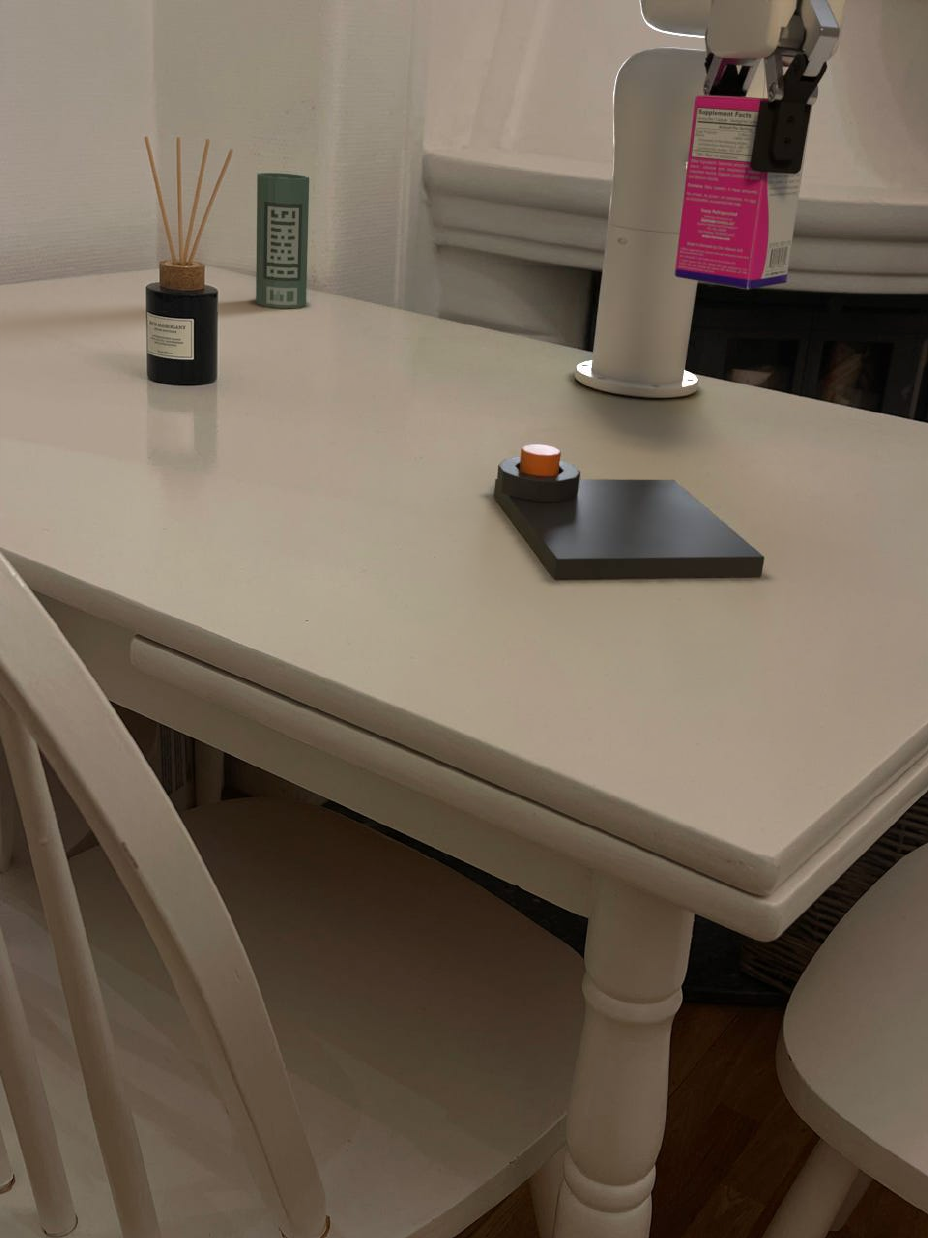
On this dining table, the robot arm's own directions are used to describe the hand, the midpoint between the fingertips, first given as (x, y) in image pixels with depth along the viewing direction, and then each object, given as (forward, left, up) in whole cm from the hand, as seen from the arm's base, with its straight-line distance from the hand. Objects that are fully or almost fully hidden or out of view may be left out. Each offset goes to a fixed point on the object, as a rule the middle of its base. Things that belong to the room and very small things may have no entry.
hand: (745, 164), depth 82 cm
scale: (+3, -7, -24) cm, 25 cm away
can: (-79, -23, -24) cm, 85 cm away
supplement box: (0, 0, -8) cm, 8 cm away
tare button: (-2, -11, -22) cm, 24 cm away
